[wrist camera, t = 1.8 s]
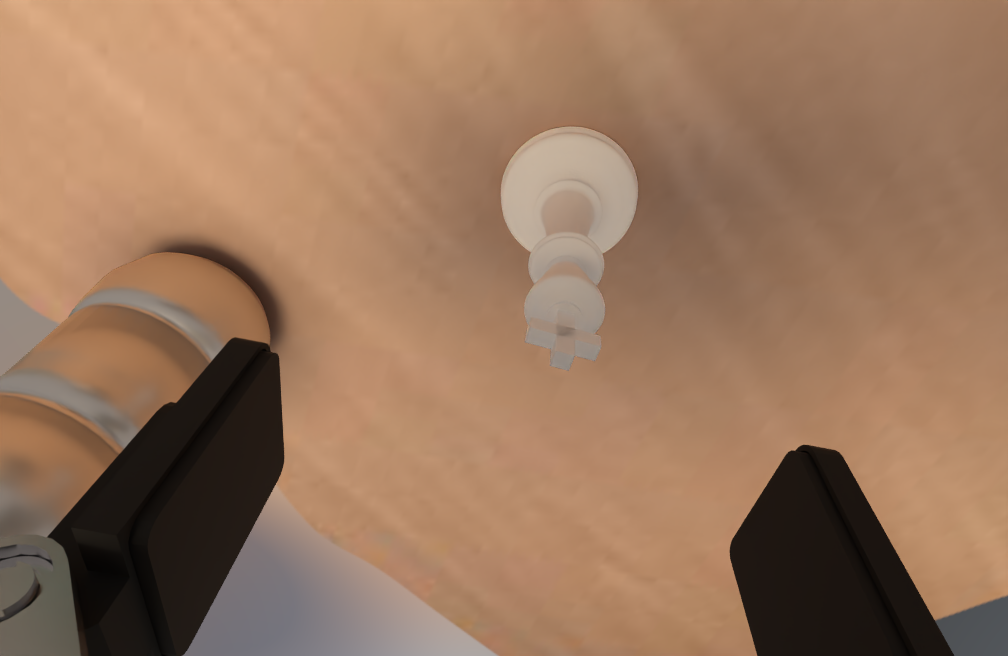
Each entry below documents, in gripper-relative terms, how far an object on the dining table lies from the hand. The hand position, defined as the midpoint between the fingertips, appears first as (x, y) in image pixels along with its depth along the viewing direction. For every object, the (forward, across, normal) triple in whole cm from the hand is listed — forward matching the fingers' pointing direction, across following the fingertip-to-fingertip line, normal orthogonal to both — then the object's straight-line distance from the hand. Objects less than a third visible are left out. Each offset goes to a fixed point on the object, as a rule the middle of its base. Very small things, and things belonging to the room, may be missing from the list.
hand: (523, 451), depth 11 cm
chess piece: (+13, -1, 0) cm, 13 cm away
